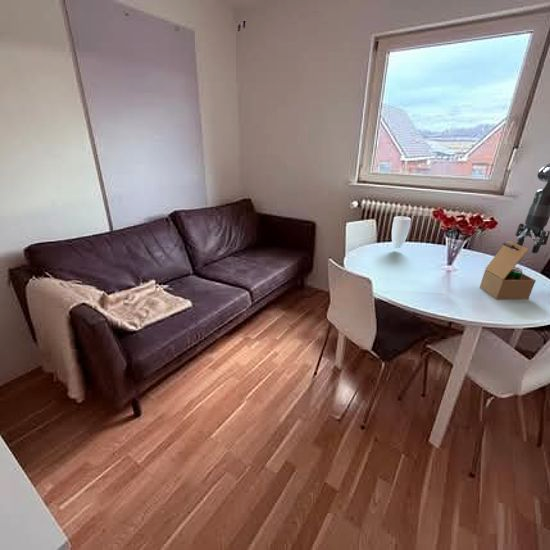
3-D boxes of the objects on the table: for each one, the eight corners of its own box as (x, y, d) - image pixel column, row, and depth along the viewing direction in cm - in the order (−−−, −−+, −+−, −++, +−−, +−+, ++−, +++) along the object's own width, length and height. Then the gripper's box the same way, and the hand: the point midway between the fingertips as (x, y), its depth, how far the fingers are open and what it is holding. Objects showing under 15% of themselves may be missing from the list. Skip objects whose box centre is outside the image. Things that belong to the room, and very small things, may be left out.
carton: (509, 287, 152) (515, 269, 148) (528, 299, 141) (535, 280, 137) (479, 287, 151) (485, 269, 147) (496, 299, 140) (503, 280, 137)
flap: (508, 240, 142) (500, 236, 141) (529, 249, 131) (520, 245, 130) (485, 269, 147) (478, 265, 146) (503, 279, 136) (495, 275, 136)
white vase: (385, 248, 202) (391, 215, 193) (402, 249, 201) (408, 216, 192) (389, 253, 193) (396, 219, 184) (407, 254, 192) (414, 220, 183)
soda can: (516, 295, 143) (525, 271, 138) (504, 294, 144) (513, 270, 139) (511, 290, 148) (519, 267, 143) (499, 289, 149) (507, 266, 144)
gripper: (562, 217, 127) (547, 255, 133) (534, 210, 140) (522, 244, 146) (544, 218, 126) (530, 255, 133) (517, 210, 139) (506, 244, 146)
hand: (526, 249), depth 140 cm, fingers open, 8 cm apart
